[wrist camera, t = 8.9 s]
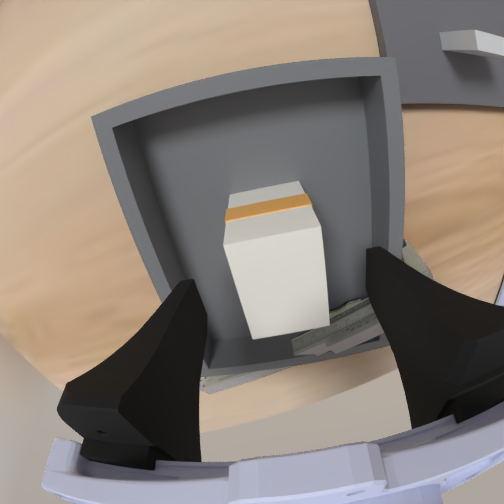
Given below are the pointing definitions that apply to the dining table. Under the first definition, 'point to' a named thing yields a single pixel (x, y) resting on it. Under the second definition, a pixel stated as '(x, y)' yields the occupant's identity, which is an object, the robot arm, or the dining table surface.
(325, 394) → the dining table surface
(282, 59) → the dining table surface
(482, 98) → the board
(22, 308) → the dining table surface
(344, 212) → the tray
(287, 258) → the white block
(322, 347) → the caliper
